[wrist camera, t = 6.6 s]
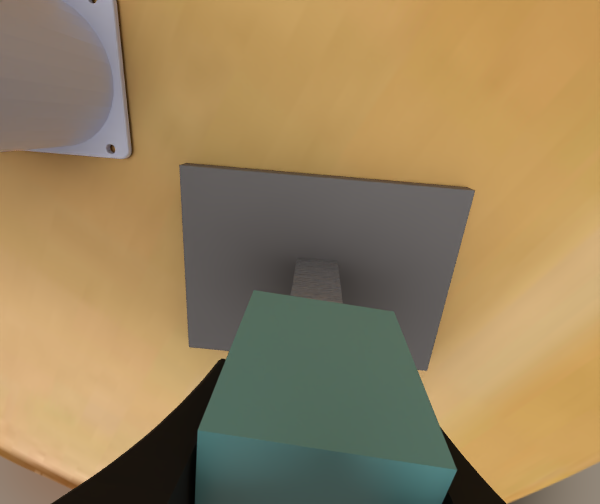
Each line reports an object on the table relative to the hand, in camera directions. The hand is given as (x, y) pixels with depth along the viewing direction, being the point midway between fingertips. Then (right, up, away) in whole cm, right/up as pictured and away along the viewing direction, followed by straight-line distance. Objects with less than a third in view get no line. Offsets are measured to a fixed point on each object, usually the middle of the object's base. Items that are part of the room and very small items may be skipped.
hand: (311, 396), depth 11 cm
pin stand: (+1, +4, +10) cm, 10 cm away
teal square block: (0, +1, +2) cm, 2 cm away
